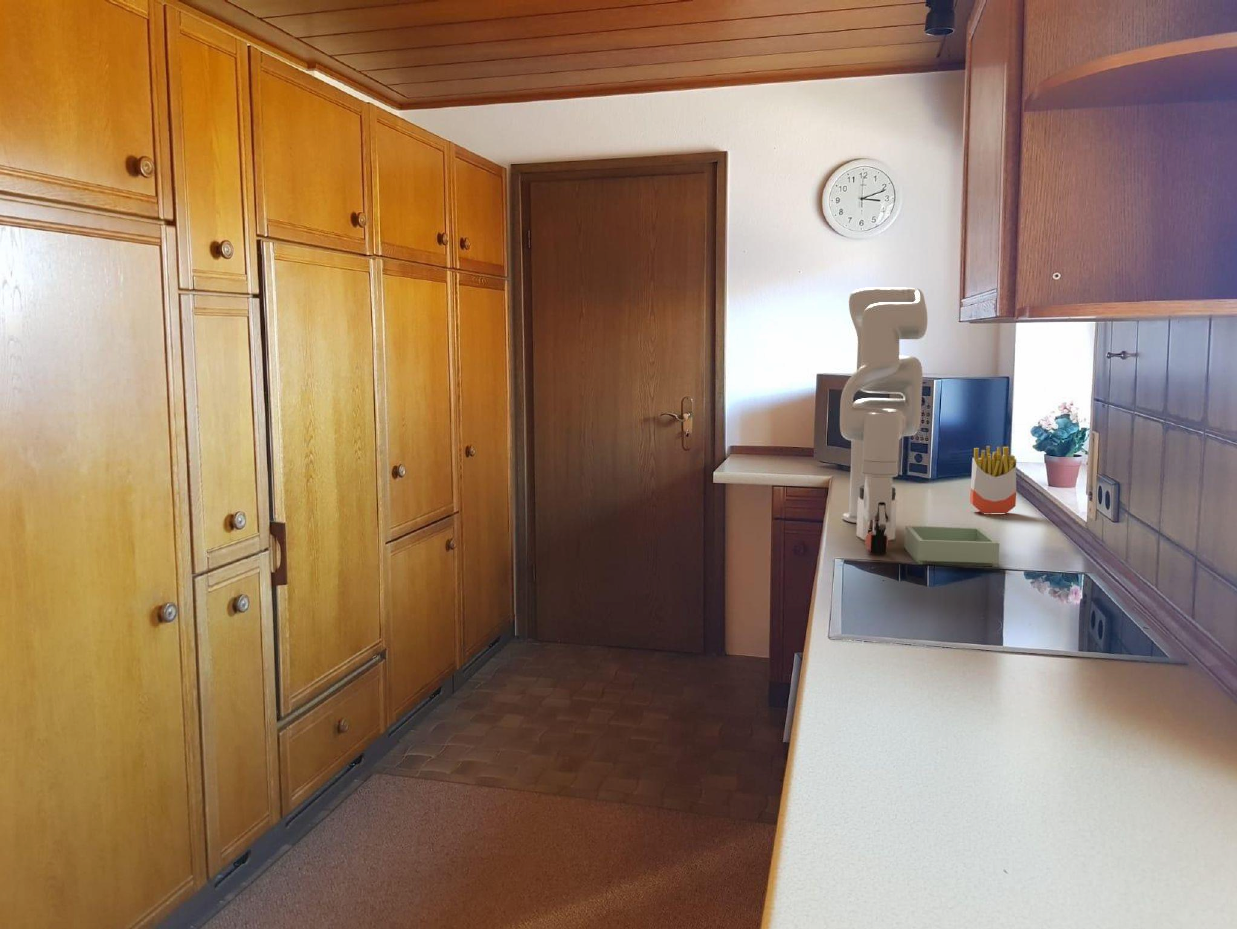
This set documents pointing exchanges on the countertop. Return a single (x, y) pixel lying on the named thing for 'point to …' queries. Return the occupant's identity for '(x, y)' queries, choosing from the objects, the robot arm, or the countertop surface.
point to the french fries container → (993, 481)
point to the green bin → (951, 546)
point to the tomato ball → (868, 540)
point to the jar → (863, 523)
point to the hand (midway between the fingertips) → (876, 549)
